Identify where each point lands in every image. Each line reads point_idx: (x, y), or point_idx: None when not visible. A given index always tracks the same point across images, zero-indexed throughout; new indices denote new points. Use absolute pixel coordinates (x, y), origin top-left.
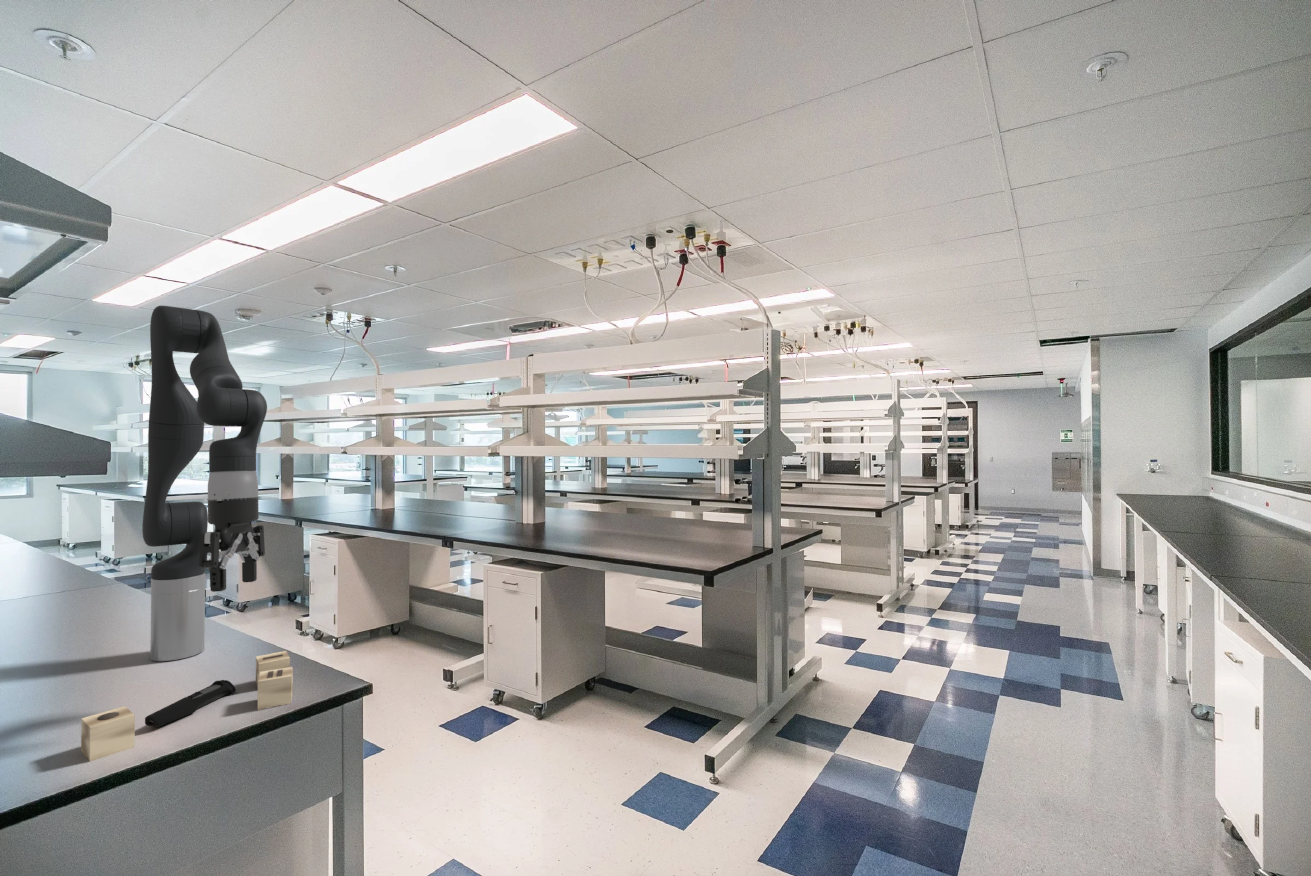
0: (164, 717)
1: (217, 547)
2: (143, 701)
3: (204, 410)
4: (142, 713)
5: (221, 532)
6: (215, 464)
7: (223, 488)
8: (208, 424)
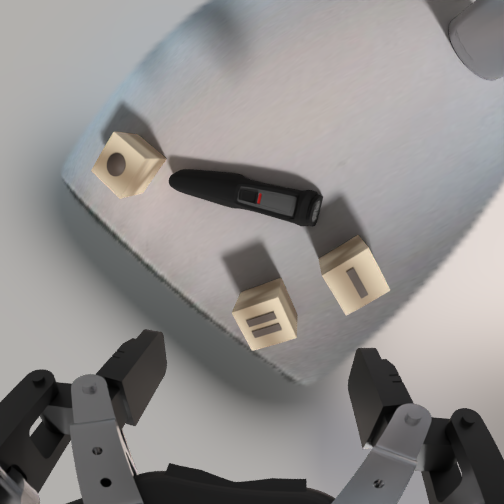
0: (186, 192)
1: (34, 479)
2: (290, 90)
3: None
4: (241, 122)
5: None
6: None
7: None
8: None
